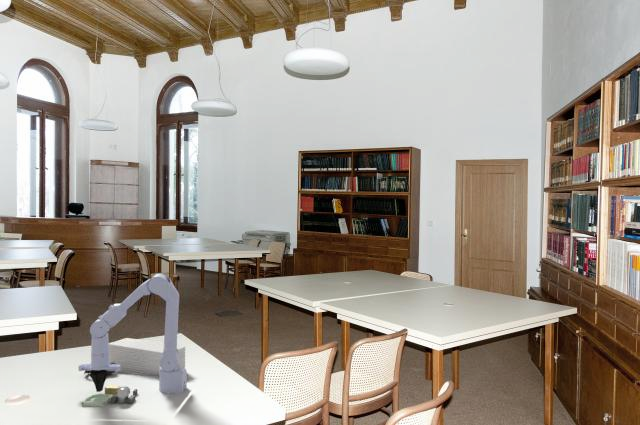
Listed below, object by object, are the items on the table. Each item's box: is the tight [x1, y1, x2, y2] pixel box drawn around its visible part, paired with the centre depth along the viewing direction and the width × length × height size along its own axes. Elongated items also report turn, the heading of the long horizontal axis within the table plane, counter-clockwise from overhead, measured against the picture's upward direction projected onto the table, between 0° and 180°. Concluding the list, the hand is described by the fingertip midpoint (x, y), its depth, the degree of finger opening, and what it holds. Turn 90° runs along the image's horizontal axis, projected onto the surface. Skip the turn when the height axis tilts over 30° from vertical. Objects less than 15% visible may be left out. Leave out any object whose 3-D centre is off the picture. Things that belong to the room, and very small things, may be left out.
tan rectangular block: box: [104, 385, 120, 396], centre depth 173 cm, size 4×2×2 cm, turn 89°
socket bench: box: [109, 387, 138, 405], centre depth 170 cm, size 18×17×3 cm
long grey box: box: [109, 337, 186, 376], centre depth 203 cm, size 32×11×11 cm, turn 67°
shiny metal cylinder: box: [116, 386, 130, 405], centre depth 166 cm, size 4×4×5 cm
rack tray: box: [81, 393, 114, 407], centre depth 166 cm, size 8×7×2 cm
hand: (99, 390), depth 173 cm, fingers closed
